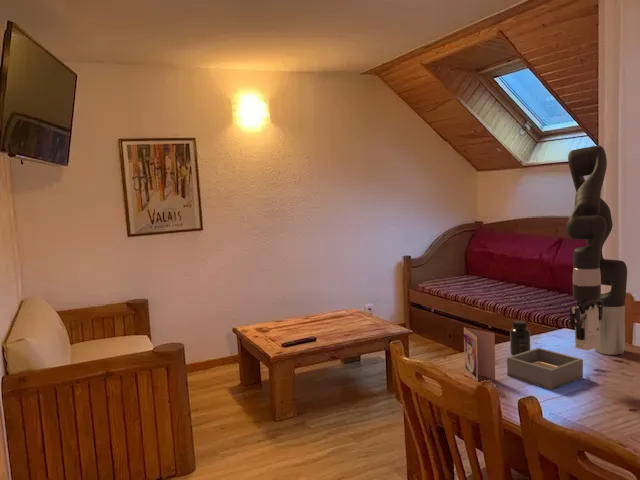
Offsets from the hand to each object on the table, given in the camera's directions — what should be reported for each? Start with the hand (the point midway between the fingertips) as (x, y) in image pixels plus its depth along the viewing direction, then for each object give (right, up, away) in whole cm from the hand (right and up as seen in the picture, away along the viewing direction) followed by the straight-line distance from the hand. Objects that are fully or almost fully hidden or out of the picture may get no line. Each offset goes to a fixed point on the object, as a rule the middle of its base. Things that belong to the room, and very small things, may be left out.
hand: (586, 337), depth 162 cm
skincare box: (0, -3, 0) cm, 3 cm away
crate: (-9, -14, +10) cm, 19 cm away
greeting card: (-28, -15, +13) cm, 35 cm away
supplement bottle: (-8, -12, +33) cm, 36 cm away
